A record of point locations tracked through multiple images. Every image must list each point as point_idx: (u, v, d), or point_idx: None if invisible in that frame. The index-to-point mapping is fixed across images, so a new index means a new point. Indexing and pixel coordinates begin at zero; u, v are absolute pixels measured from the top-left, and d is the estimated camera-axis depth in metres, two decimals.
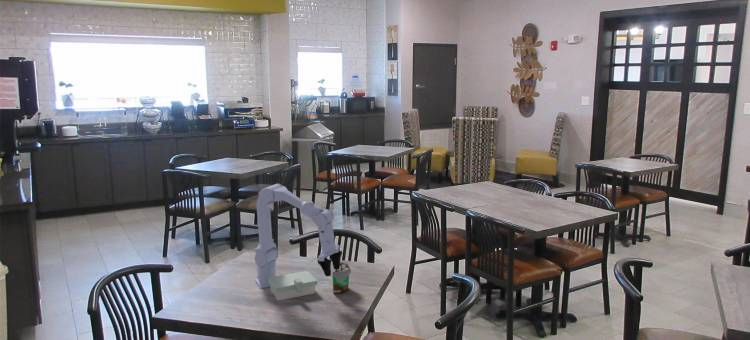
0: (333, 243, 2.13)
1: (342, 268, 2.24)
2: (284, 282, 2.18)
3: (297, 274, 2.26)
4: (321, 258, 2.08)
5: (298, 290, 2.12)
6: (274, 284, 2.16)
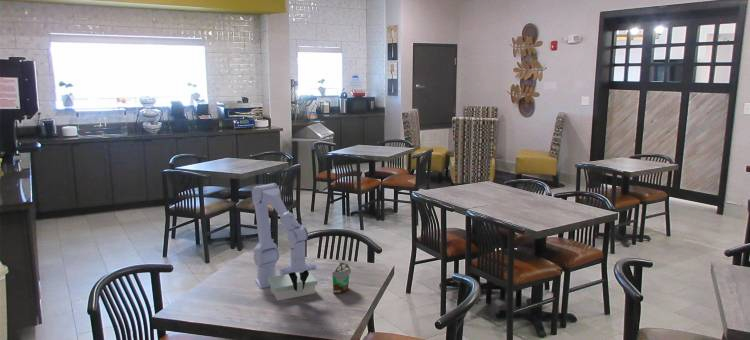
0: (299, 262, 2.09)
1: (342, 268, 2.24)
2: (284, 282, 2.18)
3: (297, 274, 2.26)
4: (280, 272, 2.09)
5: (298, 290, 2.12)
6: (274, 284, 2.16)
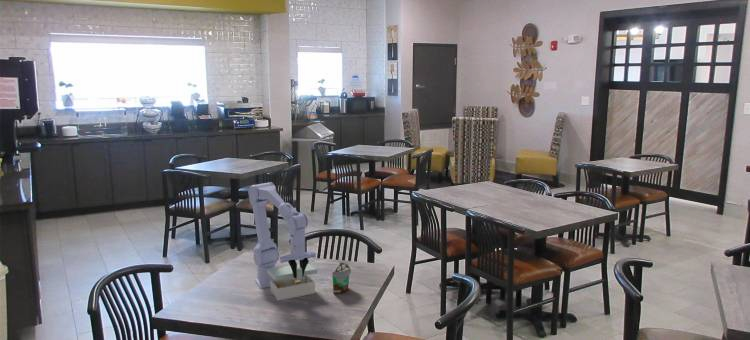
0: (299, 249, 2.08)
1: (342, 268, 2.24)
2: (283, 271, 2.17)
3: (297, 265, 2.25)
4: (280, 260, 2.08)
5: (298, 277, 2.11)
6: (274, 273, 2.15)
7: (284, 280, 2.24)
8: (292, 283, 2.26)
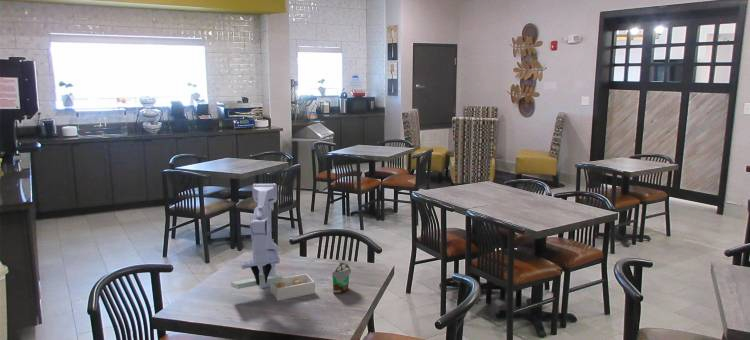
0: (261, 255, 2.01)
1: (342, 268, 2.24)
2: (247, 281, 2.10)
3: None
4: (242, 266, 2.01)
5: (260, 283, 2.05)
6: (236, 283, 2.08)
7: (284, 280, 2.24)
8: (292, 283, 2.26)
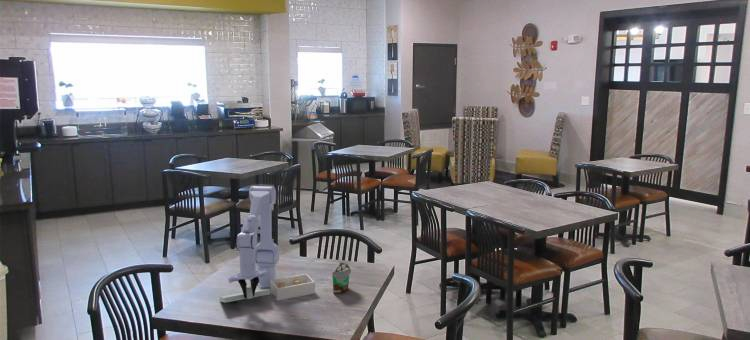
0: (248, 269, 2.00)
1: (342, 268, 2.24)
2: (235, 295, 2.09)
3: None
4: (229, 279, 2.00)
5: (248, 296, 2.03)
6: (224, 297, 2.07)
7: (284, 280, 2.24)
8: (292, 283, 2.26)
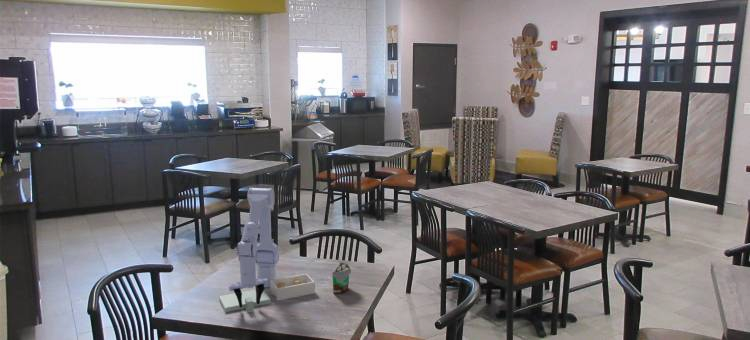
0: (248, 277, 2.01)
1: (342, 268, 2.24)
2: (235, 301, 2.09)
3: (251, 292, 2.17)
4: (229, 288, 2.01)
5: (249, 310, 2.04)
6: (224, 303, 2.07)
7: (284, 280, 2.24)
8: (292, 283, 2.26)
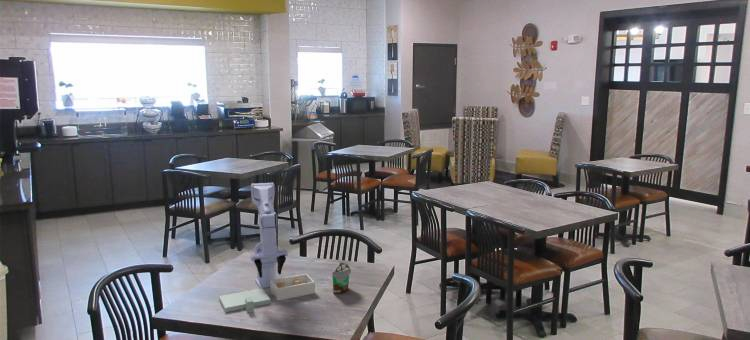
0: (270, 248, 2.10)
1: (342, 268, 2.24)
2: (235, 301, 2.09)
3: (251, 292, 2.17)
4: (251, 258, 2.10)
5: (249, 310, 2.04)
6: (224, 303, 2.07)
7: (284, 280, 2.24)
8: (292, 283, 2.26)
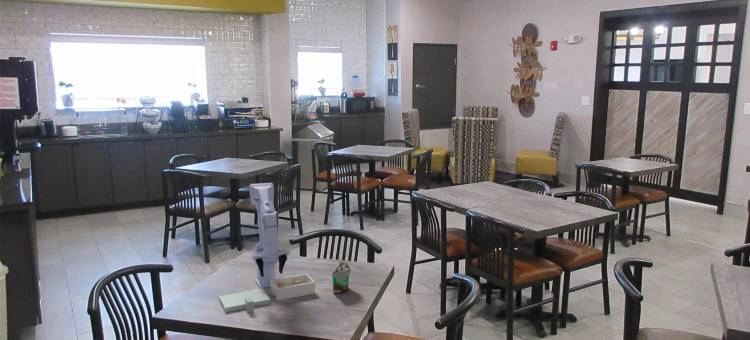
0: (271, 247, 2.10)
1: (342, 268, 2.24)
2: (235, 301, 2.09)
3: (251, 292, 2.17)
4: (253, 257, 2.10)
5: (249, 310, 2.04)
6: (224, 303, 2.07)
7: (284, 280, 2.24)
8: (292, 283, 2.26)
